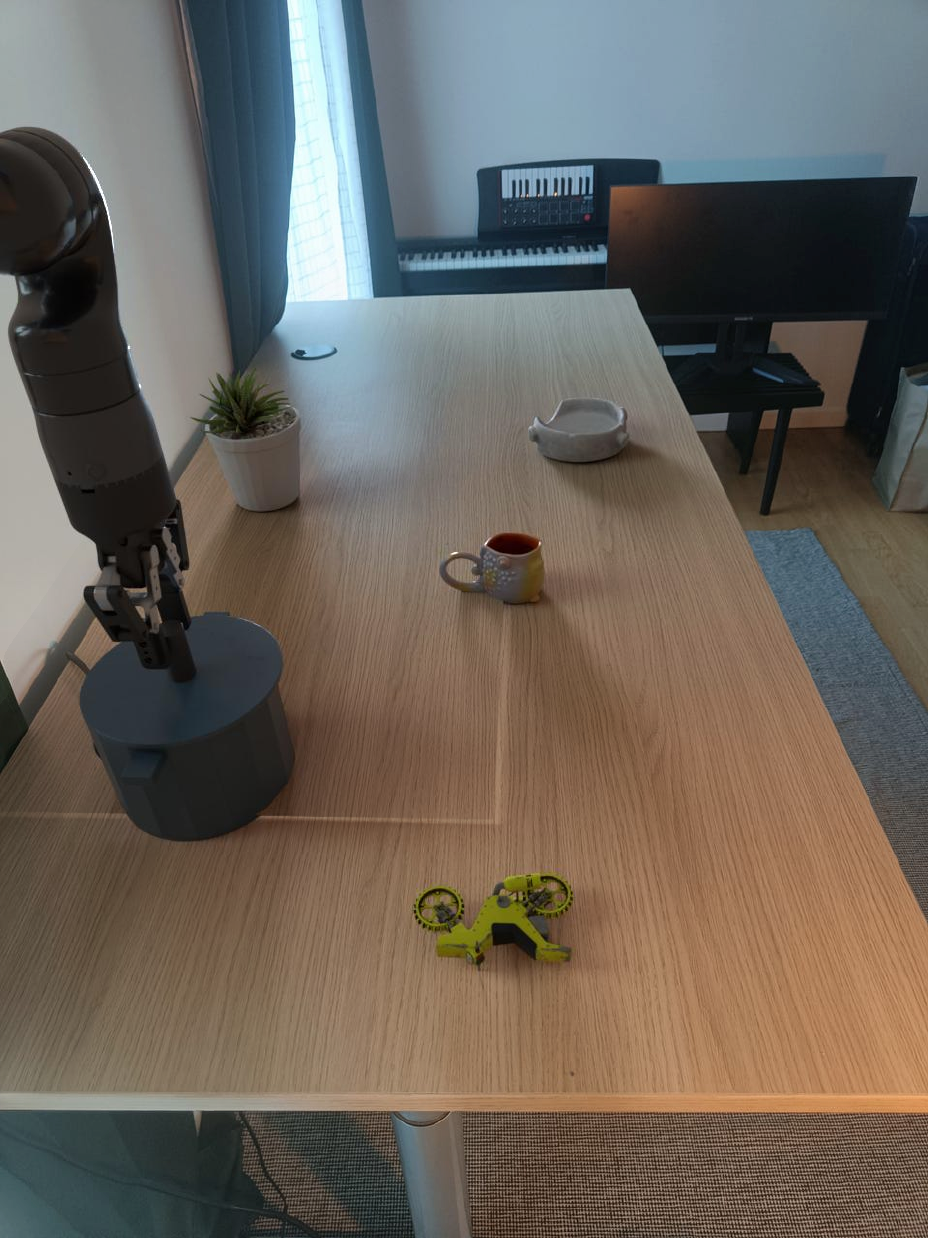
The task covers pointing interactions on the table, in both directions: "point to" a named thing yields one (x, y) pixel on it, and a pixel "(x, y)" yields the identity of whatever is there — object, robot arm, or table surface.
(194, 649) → the lid
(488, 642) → the table surface
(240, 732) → the pot
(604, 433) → the dish
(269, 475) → the potted plant
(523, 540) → the mug
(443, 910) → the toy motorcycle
